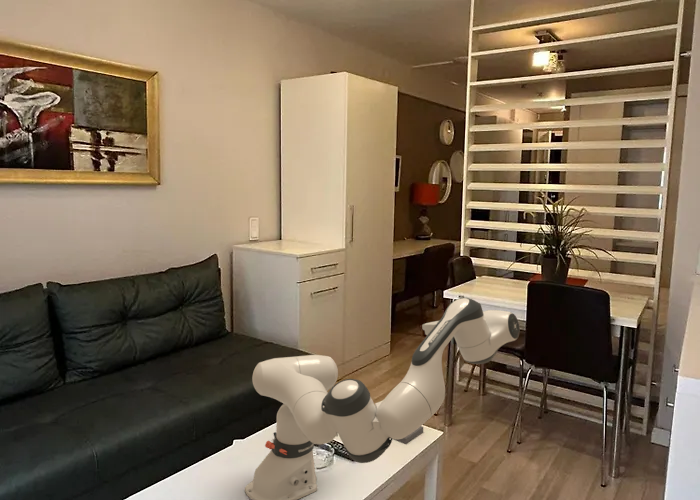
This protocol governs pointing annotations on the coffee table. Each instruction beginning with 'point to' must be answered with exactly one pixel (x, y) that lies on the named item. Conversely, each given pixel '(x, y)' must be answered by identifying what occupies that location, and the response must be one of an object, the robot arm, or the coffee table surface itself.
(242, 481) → the coffee table surface
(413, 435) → the block
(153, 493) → the coffee table surface
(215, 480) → the coffee table surface
